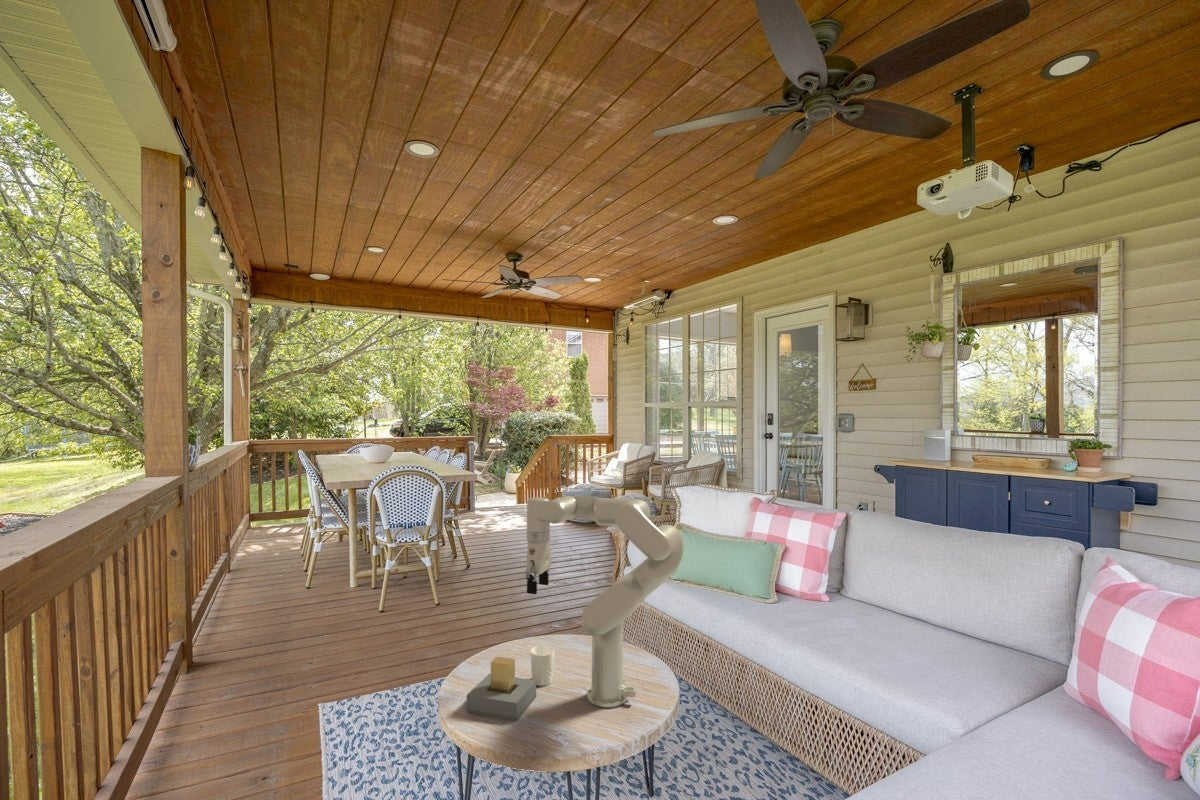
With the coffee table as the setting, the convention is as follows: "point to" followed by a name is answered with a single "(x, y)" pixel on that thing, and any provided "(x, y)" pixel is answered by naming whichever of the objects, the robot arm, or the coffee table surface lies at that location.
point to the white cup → (542, 664)
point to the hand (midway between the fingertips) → (537, 589)
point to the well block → (501, 699)
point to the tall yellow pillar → (503, 675)
